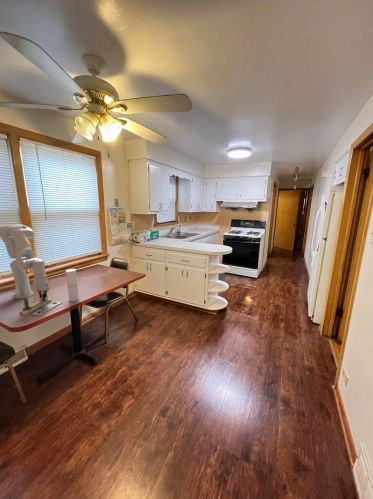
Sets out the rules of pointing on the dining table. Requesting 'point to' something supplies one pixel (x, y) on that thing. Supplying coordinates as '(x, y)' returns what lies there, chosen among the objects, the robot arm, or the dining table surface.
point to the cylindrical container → (72, 284)
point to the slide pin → (42, 297)
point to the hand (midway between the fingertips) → (43, 297)
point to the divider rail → (32, 306)
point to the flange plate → (46, 308)
